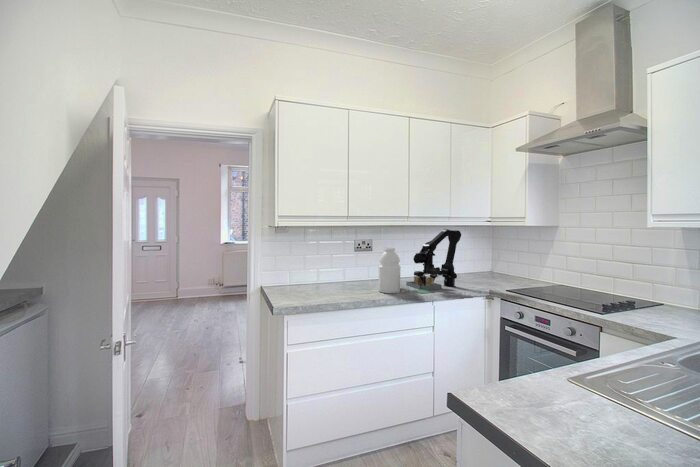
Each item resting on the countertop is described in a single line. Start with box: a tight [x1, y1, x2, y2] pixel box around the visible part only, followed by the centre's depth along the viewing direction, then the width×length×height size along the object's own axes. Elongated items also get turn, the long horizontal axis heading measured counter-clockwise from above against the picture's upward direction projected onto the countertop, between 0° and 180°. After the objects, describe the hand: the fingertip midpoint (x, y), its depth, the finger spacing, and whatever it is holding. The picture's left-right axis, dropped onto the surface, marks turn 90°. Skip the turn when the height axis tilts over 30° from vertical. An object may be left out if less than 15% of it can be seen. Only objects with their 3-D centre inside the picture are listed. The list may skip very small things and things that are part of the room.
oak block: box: [423, 276, 435, 286], centre depth 223 cm, size 5×5×7 cm
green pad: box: [412, 289, 436, 295], centre depth 212 cm, size 10×10×1 cm
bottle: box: [378, 247, 401, 294], centre depth 215 cm, size 14×14×28 cm
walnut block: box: [413, 275, 423, 286], centre depth 234 cm, size 5×5×6 cm
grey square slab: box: [406, 280, 443, 290], centre depth 229 cm, size 16×18×3 cm
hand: (428, 286), depth 223 cm, fingers closed on oak block, 5 cm apart
